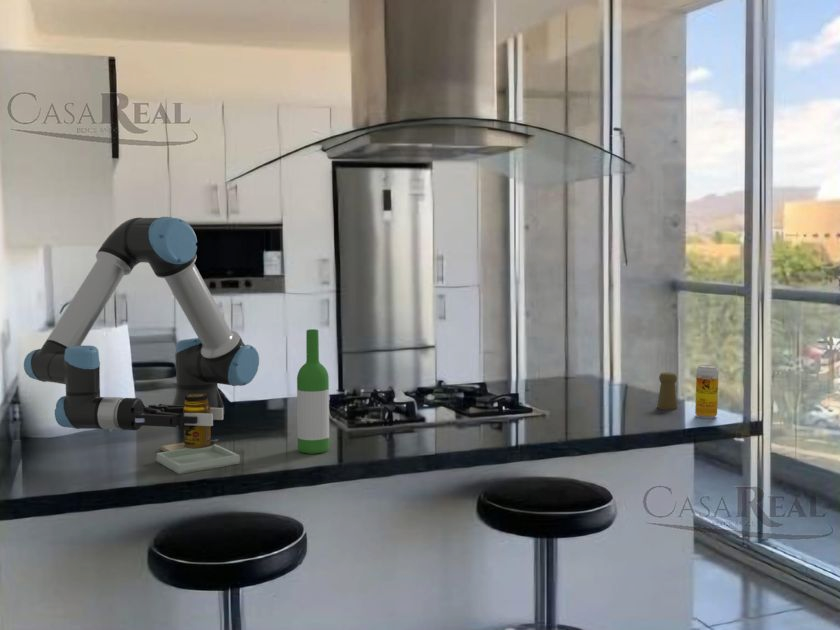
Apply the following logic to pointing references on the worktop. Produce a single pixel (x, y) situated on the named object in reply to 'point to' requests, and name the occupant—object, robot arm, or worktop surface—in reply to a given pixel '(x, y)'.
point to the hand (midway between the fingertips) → (217, 416)
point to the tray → (197, 459)
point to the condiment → (197, 434)
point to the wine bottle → (312, 400)
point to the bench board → (171, 447)
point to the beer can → (706, 391)
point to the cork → (667, 391)
